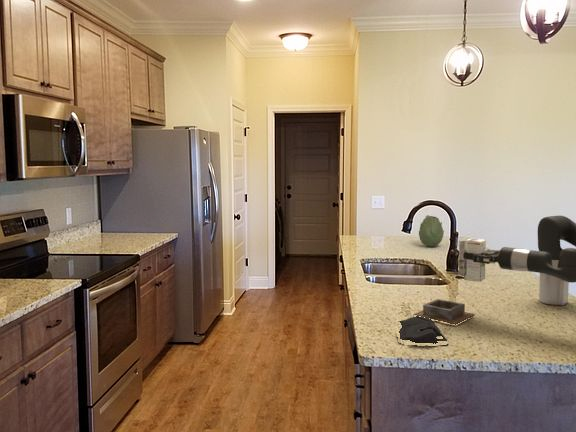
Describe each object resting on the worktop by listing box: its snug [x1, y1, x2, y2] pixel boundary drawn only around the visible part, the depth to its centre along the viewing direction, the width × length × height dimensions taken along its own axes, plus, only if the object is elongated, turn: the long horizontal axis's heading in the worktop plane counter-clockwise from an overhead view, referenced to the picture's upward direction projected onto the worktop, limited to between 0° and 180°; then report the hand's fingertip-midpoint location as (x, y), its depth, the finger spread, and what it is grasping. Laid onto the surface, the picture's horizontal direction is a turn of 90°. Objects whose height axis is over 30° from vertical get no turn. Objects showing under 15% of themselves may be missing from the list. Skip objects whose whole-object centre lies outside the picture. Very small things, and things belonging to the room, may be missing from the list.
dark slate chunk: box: [398, 316, 448, 344], centre depth 159 cm, size 15×22×5 cm
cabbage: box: [418, 215, 445, 248], centre depth 316 cm, size 16×19×20 cm
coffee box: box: [458, 240, 466, 276], centre depth 238 cm, size 9×6×16 cm
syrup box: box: [463, 237, 487, 283], centre depth 175 cm, size 6×6×14 cm
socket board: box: [413, 298, 476, 325], centre depth 175 cm, size 16×14×4 cm
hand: (468, 254), depth 177 cm, fingers closed on syrup box, 6 cm apart
